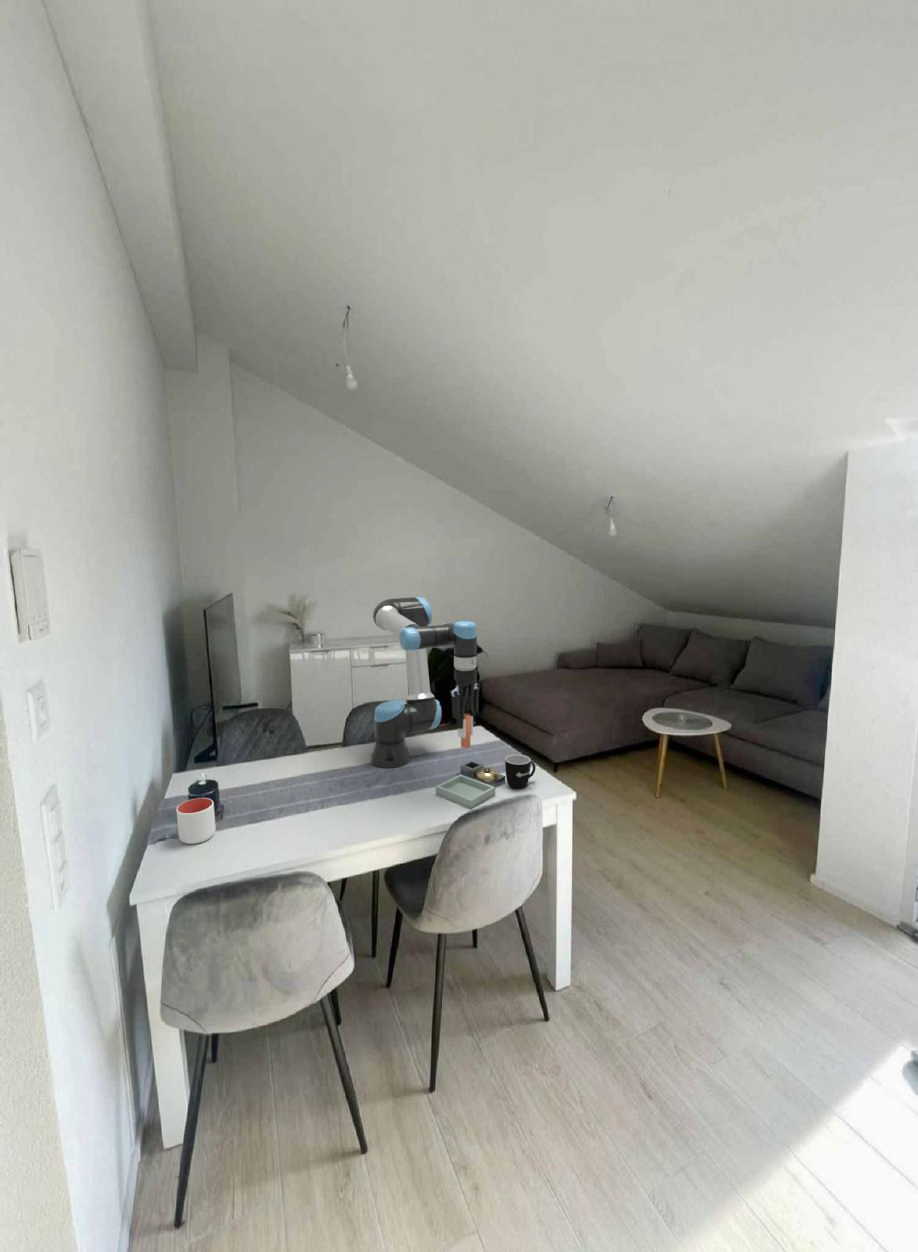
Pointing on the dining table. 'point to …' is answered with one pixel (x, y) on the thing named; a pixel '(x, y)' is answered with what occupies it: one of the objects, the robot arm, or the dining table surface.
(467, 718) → the pin
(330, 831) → the dining table surface
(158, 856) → the dining table surface
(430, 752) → the dining table surface
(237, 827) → the dining table surface
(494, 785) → the pulley block
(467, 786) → the tray
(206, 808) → the cup
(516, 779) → the mug
